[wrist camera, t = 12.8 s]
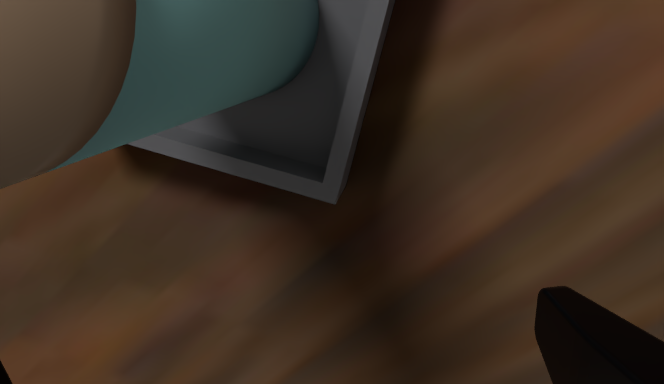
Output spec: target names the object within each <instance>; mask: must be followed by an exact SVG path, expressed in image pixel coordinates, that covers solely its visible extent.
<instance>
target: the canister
mask: <svg viewBox="0 0 664 384" xmlns="http://www.w3.org/2000/svg"><path fill="white" fill-rule="evenodd" d="M318 29H319V7H318V1H317V0H0V189H1V188H4V187H7V186H10V185H12V184H15V183H18V182H21V181H24V180H26V179H29V178H32V177H35V176H38V175H40V174H43V173H46V172H49V171H52V170H54V169H57V168H60V167H63V166H66V165H69V164H71V163H74V162H77V161H80V160H83V159H85V158H88V157H91V156H94V155H97V154H99V153H102V152H105V151H108V150H111V149H114V148H116V147H119V146H122V145H125V144H128V143H130V142H133V141H136V140H139V139H142V138H144V137H147V136H150V135H153V134H156V133H158V132H161V131H164V130H167V129H170V128H173V127H175V126H178V125H181V124H184V123H187V122H189V121H192V120H195V119H198V118H201V117H203V116H206V115H209V114H212V113H215V112H218V111H220V110H223V109H226V108H229V107H232V106H234V105H237V104H240V103H243V102H246V101H248V100H251V99H254V98H257V97H260V96H262V95H265V94H268V93H271V92H274V91H276V90H278V89H280V88H282V87H283V86H285V85H286V84H288V83H289V82H290V81H292V80H293V79H294V78H295V77H296V76H297V75H298V74H299V73H300V71H301V70H302V69H303V68H304V66H305V65H306V63H307V61H308V60H309V58H310V56H311V54H312V51H313V49H314V46H315V43H316V40H317V35H318Z"/></svg>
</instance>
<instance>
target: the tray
mask: <svg viewBox="0 0 664 384" xmlns="http://www.w3.org/2000/svg"><path fill="white" fill-rule="evenodd" d="M317 1H318V7H319V29H318V35H317V40H316V43H315V46H314V49H313V51H312V54H311V56H310V58H309V60H308V61H307V63H306V65H305V66H304V68H303V69H302V70H301V71H300V73H299V74H298V75H297V76H296V77H295V78H294V79H293V80H292V81H290V82H289V83H288V84H286V85H285V86H283V87H282V88H280V89H278V90H276V91H274V92H271V93H268V94H265V95H262V96H260V97H257V98H254V99H251V100H248V101H246V102H243V103H240V104H237V105H234V106H232V107H229V108H226V109H223V110H220V111H218V112H215V113H212V114H209V115H206V116H203V117H201V118H198V119H195V120H192V121H189V122H187V123H184V124H181V125H178V126H175V127H173V128H170V129H167V130H164V131H161V132H158V133H156V134H153V135H150V136H147V137H144V138H142V139H139V140H136V141H133V142H130V143H128V144H129V145H132V146H136V147H139V148H142V149H146V150H149V151H153V152H156V153H160V154H163V155H167V156H170V157H173V158H177V159H180V160H184V161H187V162H191V163H194V164H197V165H201V166H204V167H208V168H211V169H215V170H218V171H222V172H225V173H228V174H232V175H235V176H239V177H242V178H246V179H249V180H252V181H256V182H259V183H263V184H266V185H270V186H273V187H277V188H280V189H283V190H287V191H290V192H294V193H297V194H301V195H304V196H307V197H311V198H314V199H318V200H321V201H325V202H328V203H332V204H335V205H336V203H337V201H338V199H339V197H340V196H341V194H342V192H343V190H344V188H345V187H346V183H347V180H348V176H349V172H350V168H351V165H352V161H353V157H354V153H355V150H356V146H357V142H358V138H359V135H360V131H361V127H362V123H363V120H364V116H365V112H366V108H367V105H368V101H369V97H370V93H371V90H372V86H373V82H374V78H375V75H376V71H377V67H378V63H379V59H380V56H381V52H382V48H383V44H384V41H385V37H386V33H387V29H388V26H389V22H390V18H391V14H392V11H393V7H394V3H395V0H317Z"/></svg>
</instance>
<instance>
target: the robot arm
mask: <svg viewBox="0 0 664 384" xmlns="http://www.w3.org/2000/svg"><path fill="white" fill-rule="evenodd" d="M535 336H536V340H537V343H538V345H539V348H540V351H541V353H542V356H543V359H544V361H545V364H546V367H547V369H548V372H549V375H550V378H551V380H552V383H553V384H664V342H663V341H661V340H660V339H658V338H656V337H654V336H653V335H651V334H649V333H647V332H646V331H644V330H642V329H640V328H639V327H637V326H635V325H633V324H632V323H630V322H628V321H626V320H625V319H623V318H621V317H619V316H618V315H616V314H614V313H613V312H611V311H609V310H607V309H606V308H604V307H602V306H600V305H599V304H597V303H595V302H593V301H592V300H590V299H588V298H586V297H585V296H583V295H581V294H579V293H578V292H576V291H574V290H572V289H571V288H569V287H566V286H557V287H547V288H543V289H541V290H540V291H539V294H538V299H537V308H536V318H535ZM0 384H12V382H11V380H10V378H9V376H8V374H7V372H6V370H5V368H4V366H3V365H2V363H1V361H0Z"/></svg>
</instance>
